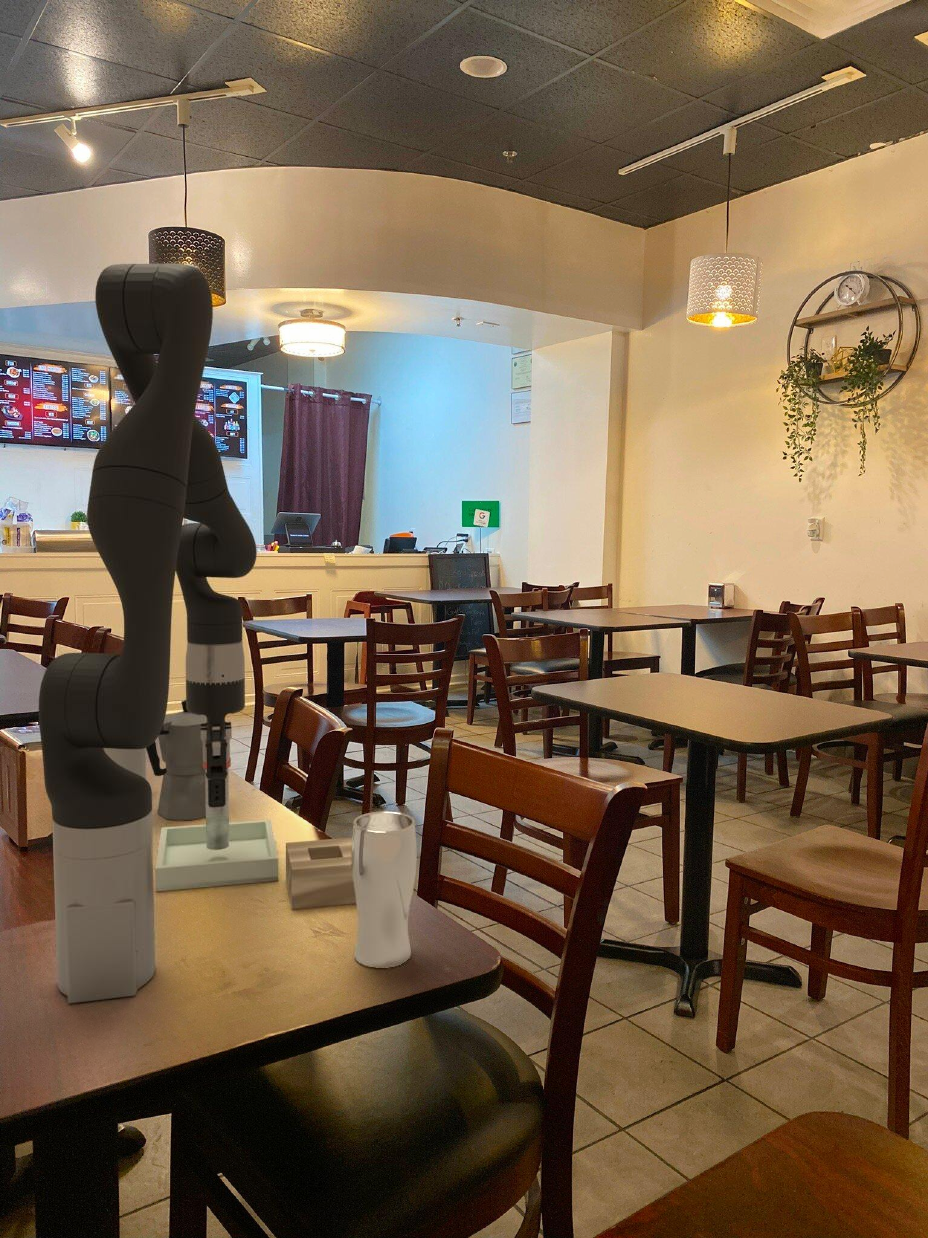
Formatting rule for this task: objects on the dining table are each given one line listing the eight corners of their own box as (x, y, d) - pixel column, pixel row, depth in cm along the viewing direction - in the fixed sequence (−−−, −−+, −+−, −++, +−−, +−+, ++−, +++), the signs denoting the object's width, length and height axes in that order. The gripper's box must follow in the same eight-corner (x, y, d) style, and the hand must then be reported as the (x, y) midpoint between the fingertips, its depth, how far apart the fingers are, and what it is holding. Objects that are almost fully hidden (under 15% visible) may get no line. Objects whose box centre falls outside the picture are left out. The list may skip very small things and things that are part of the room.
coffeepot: (194, 795, 148) (192, 690, 146) (239, 804, 144) (238, 695, 142) (123, 823, 134) (120, 707, 132) (171, 834, 131) (169, 714, 128)
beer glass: (343, 945, 98) (344, 814, 96) (404, 936, 100) (406, 808, 99) (358, 976, 91) (360, 836, 90) (423, 965, 94) (425, 829, 92)
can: (97, 792, 149) (95, 722, 148) (144, 787, 152) (142, 719, 151) (99, 805, 142) (97, 732, 141) (148, 800, 145) (147, 729, 144)
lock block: (366, 902, 109) (366, 863, 108) (292, 909, 106) (292, 869, 106) (354, 873, 117) (355, 837, 117) (286, 880, 115) (285, 842, 114)
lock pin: (231, 849, 118) (231, 762, 117) (203, 851, 117) (202, 763, 116) (231, 840, 122) (230, 754, 120) (203, 842, 121) (202, 756, 119)
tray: (278, 880, 115) (278, 858, 114) (155, 891, 111) (155, 868, 110) (270, 839, 129) (270, 819, 129) (162, 848, 125) (161, 827, 125)
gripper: (246, 684, 111) (247, 817, 113) (242, 665, 125) (243, 785, 127) (184, 686, 109) (186, 821, 111) (187, 667, 123) (188, 788, 125)
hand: (216, 801), depth 119 cm, fingers closed on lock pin, 3 cm apart
